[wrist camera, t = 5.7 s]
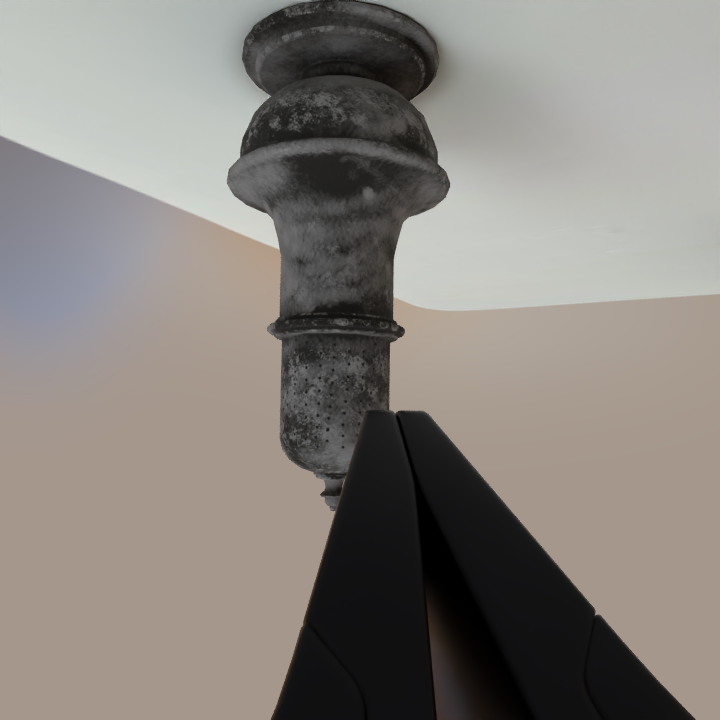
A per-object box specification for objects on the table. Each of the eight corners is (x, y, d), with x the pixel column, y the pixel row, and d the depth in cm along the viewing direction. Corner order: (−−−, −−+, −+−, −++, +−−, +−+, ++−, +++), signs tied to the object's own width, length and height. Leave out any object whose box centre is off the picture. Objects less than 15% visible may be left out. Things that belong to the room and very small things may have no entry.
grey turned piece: (328, 130, 21) (321, 490, 20) (184, 49, 17) (166, 512, 16) (488, 76, 18) (489, 510, 17) (361, -46, 13) (353, 545, 12)
